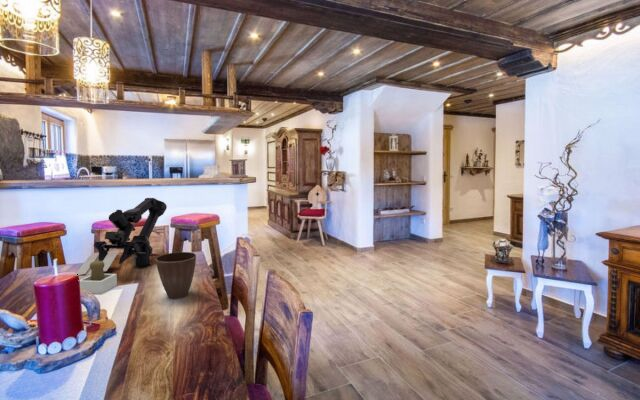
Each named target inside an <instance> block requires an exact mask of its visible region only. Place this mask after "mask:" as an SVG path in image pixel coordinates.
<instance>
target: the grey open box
mask: <svg viewBox="0 0 640 400" xmlns="http://www.w3.org/2000/svg"><path fill="white" fill-rule="evenodd" d="M104 275H105V279H103V280H101V281H91V275H86V276H85V277H82V278H81V279H79V280H80V287H81V290H86V291H89V292H91V293H90V294H98V295H99V294H101V295H103V294H104V293H106V292H108V291H109V290H111V289H113V288H115V287H116V286H118V278H117V277H118V276H117V275H118V274H117V273H104Z"/></svg>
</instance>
